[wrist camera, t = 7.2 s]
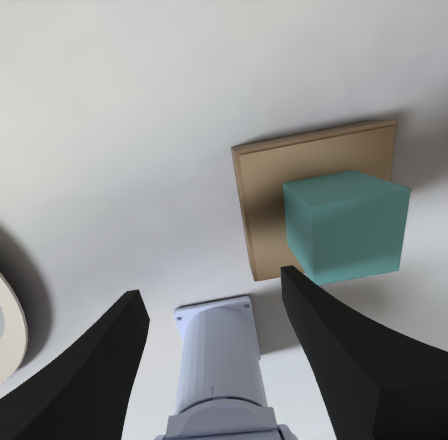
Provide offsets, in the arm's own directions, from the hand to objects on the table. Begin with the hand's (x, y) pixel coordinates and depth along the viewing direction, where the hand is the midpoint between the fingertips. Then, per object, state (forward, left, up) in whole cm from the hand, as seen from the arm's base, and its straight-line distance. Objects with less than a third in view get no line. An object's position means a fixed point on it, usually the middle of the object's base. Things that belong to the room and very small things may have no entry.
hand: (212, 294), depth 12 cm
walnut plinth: (0, -8, -9) cm, 12 cm away
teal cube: (+1, -8, -6) cm, 10 cm away
